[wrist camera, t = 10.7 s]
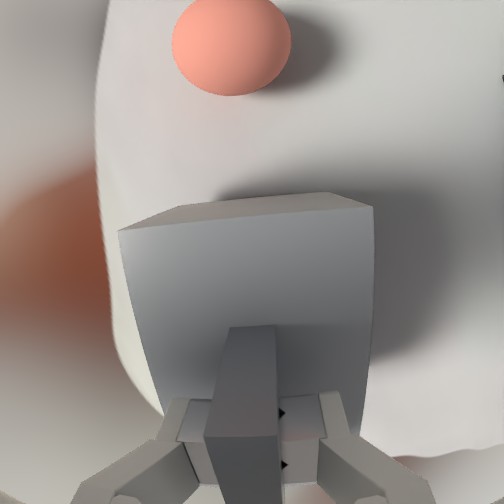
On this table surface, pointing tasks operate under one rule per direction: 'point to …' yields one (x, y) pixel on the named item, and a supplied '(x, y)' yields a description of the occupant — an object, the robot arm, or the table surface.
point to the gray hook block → (254, 318)
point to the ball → (231, 45)
